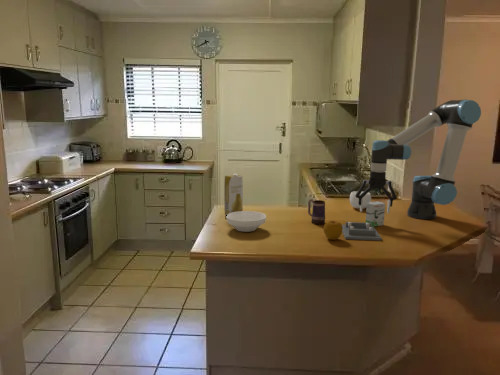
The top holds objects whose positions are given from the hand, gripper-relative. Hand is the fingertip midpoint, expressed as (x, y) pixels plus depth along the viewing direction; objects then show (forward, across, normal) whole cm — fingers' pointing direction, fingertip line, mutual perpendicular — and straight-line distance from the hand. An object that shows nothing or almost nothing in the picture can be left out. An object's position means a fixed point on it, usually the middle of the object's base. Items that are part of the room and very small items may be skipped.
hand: (374, 212), depth 206 cm
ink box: (+7, -1, 0) cm, 7 cm away
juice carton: (+8, +74, -8) cm, 75 cm away
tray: (+7, +9, +16) cm, 20 cm away
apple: (+8, +23, +27) cm, 36 cm away
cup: (+7, +1, -35) cm, 36 cm away
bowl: (+8, +64, +17) cm, 67 cm away
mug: (+8, +29, -1) cm, 30 cm away
